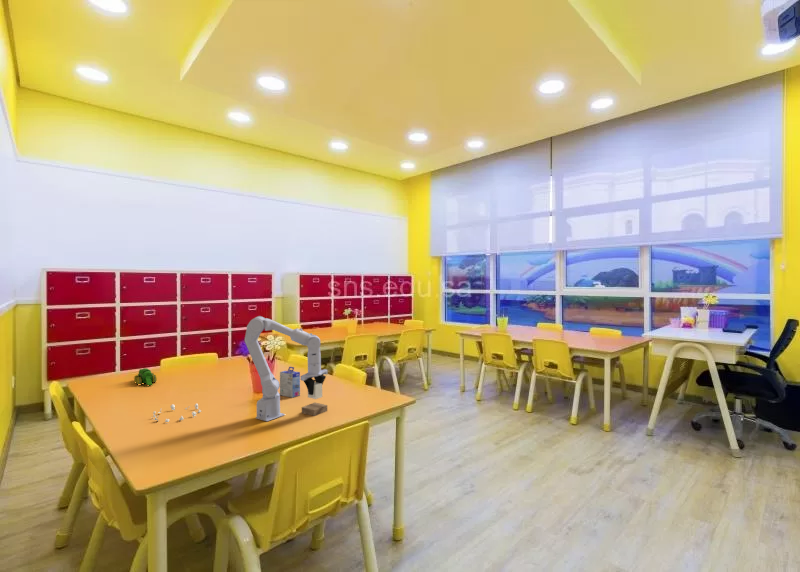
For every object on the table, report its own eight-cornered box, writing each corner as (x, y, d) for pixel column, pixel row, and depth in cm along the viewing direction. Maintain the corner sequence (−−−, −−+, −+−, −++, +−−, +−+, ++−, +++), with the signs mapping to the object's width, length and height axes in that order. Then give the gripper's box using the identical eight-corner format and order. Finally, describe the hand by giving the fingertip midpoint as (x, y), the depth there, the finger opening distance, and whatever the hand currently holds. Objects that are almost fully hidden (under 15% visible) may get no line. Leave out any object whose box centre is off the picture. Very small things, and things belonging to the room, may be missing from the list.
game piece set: (155, 413, 181) (154, 404, 181) (203, 406, 189) (203, 398, 188) (146, 427, 163) (146, 418, 163) (200, 419, 171) (200, 411, 171)
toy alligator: (147, 376, 253) (147, 362, 252) (159, 385, 229) (158, 370, 229) (129, 378, 246) (129, 364, 246) (139, 388, 222) (139, 373, 222)
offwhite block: (315, 399, 173) (315, 385, 173) (307, 397, 175) (307, 384, 175) (322, 396, 176) (322, 383, 176) (314, 395, 179) (314, 382, 179)
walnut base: (314, 417, 172) (314, 410, 172) (301, 413, 176) (301, 407, 176) (327, 411, 178) (327, 405, 178) (314, 408, 183) (314, 402, 183)
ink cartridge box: (301, 395, 204) (300, 367, 203) (292, 398, 199) (292, 369, 199) (287, 392, 209) (287, 365, 209) (279, 395, 204) (278, 367, 204)
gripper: (308, 367, 167) (308, 398, 168) (332, 360, 179) (332, 390, 180) (296, 365, 171) (297, 396, 171) (321, 359, 183) (321, 388, 183)
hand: (314, 393), depth 176 cm, fingers closed on offwhite block, 4 cm apart
